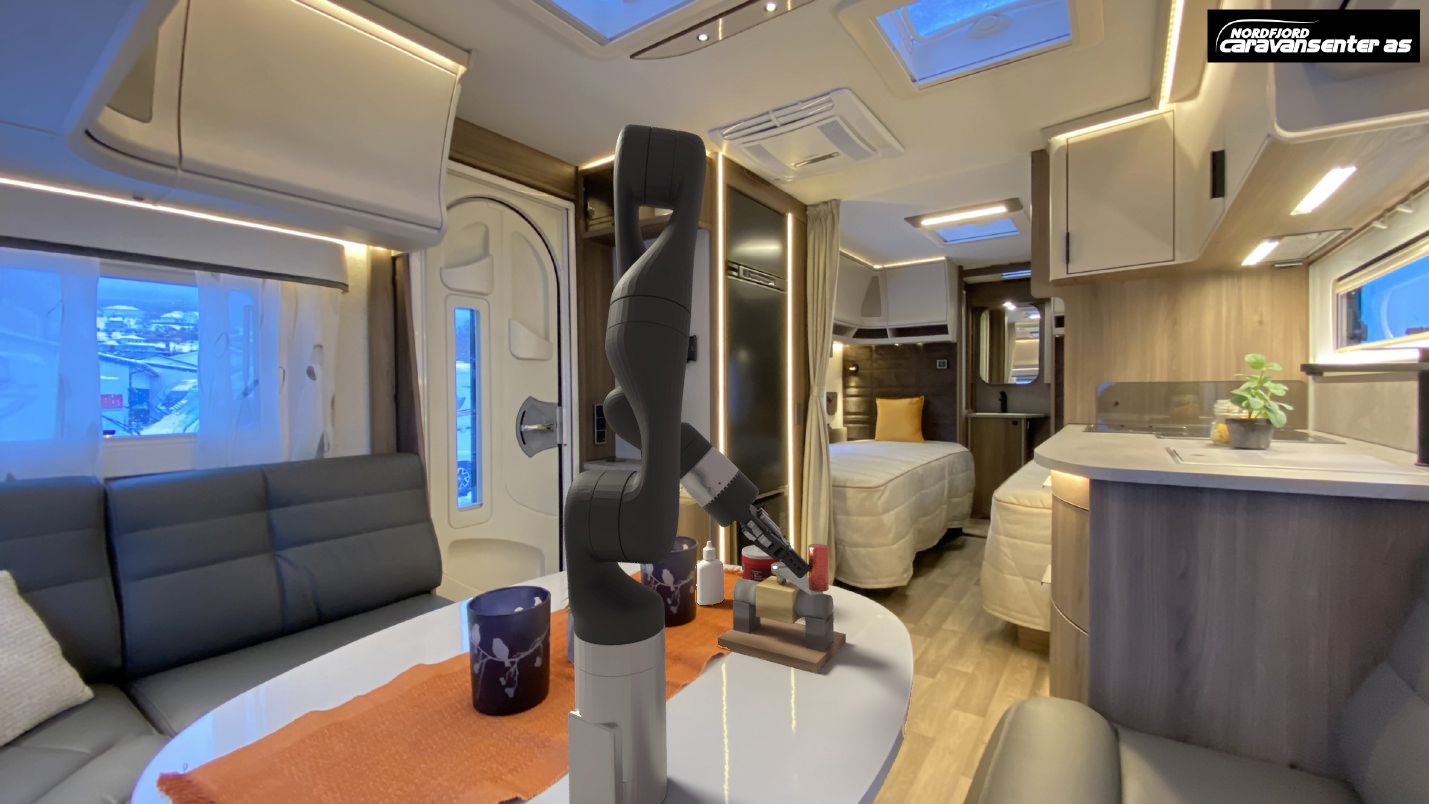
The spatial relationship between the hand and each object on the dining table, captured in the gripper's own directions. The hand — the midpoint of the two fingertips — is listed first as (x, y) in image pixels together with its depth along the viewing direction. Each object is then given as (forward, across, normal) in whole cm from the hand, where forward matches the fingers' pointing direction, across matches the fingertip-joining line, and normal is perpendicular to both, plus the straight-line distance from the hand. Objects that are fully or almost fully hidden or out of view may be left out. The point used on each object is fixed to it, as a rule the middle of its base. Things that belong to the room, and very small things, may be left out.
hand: (804, 572), depth 84 cm
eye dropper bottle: (+1, +30, +22) cm, 37 cm away
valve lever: (+3, +6, +4) cm, 8 cm away
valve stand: (+9, +11, +12) cm, 19 cm away
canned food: (+8, +28, +14) cm, 32 cm away
